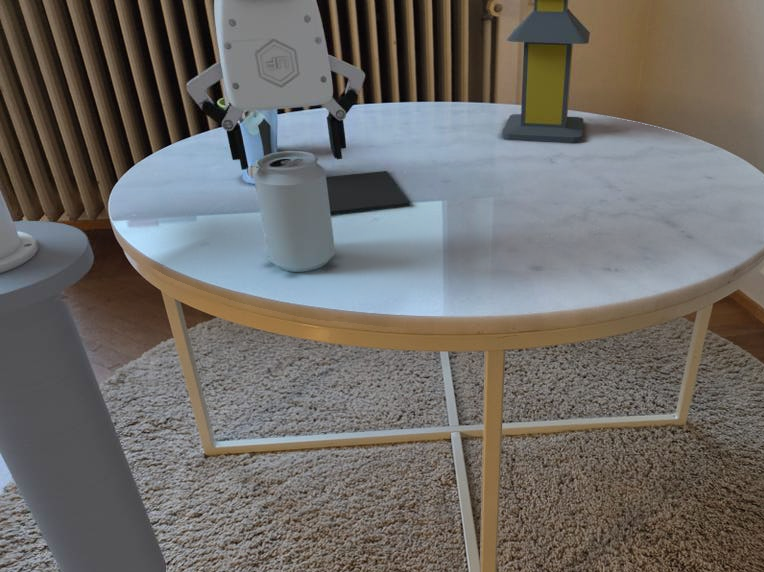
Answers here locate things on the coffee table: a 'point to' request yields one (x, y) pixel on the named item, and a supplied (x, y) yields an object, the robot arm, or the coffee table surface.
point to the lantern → (547, 74)
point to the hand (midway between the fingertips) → (291, 160)
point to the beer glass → (256, 136)
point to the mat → (363, 192)
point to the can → (295, 210)
